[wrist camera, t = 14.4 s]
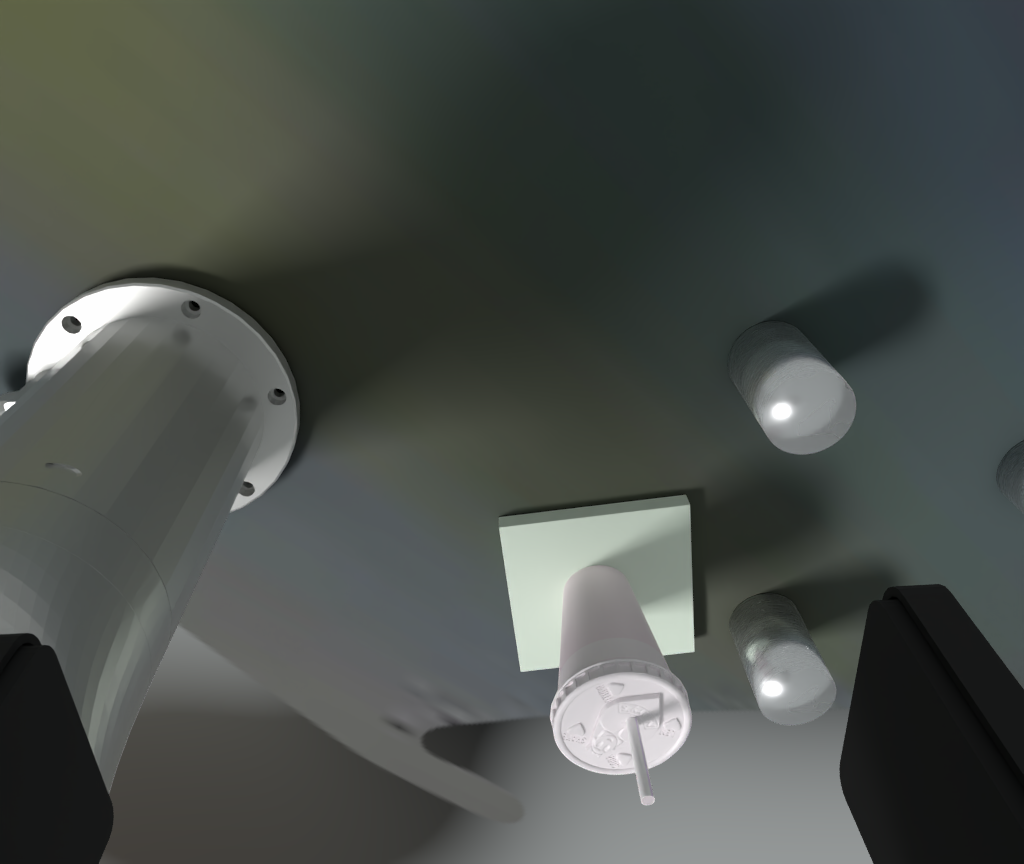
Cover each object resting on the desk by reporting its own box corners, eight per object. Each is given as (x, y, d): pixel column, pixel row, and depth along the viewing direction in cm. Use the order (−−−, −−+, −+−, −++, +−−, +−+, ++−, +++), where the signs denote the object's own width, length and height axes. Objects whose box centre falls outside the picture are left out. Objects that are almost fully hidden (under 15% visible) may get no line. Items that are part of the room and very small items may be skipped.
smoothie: (679, 584, 48) (749, 797, 36) (600, 656, 50) (641, 880, 38) (592, 523, 46) (635, 726, 34) (514, 600, 48) (527, 818, 36)
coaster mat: (520, 659, 51) (520, 671, 50) (498, 517, 47) (498, 527, 46) (690, 639, 51) (694, 651, 50) (685, 494, 46) (689, 504, 46)
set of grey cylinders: (729, 651, 52) (758, 729, 46) (727, 326, 42) (763, 377, 37) (1041, 615, 51) (1107, 689, 46) (1110, 278, 42) (1203, 323, 36)
